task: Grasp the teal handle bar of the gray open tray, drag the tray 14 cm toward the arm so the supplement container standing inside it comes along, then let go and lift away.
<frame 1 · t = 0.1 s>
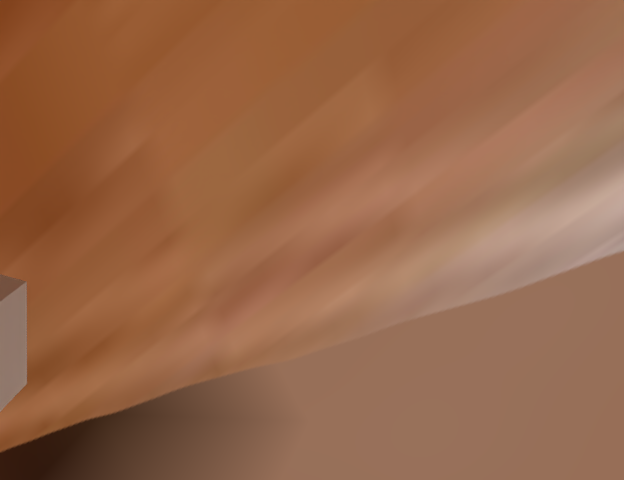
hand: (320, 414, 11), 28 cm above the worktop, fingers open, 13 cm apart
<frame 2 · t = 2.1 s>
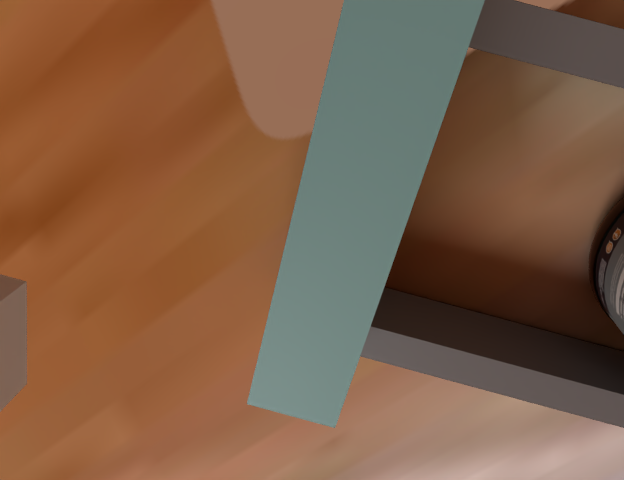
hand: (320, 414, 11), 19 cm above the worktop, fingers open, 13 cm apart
gray open tray: (619, 263, 23), point 5 cm above the worktop, slide at 0.0 cm
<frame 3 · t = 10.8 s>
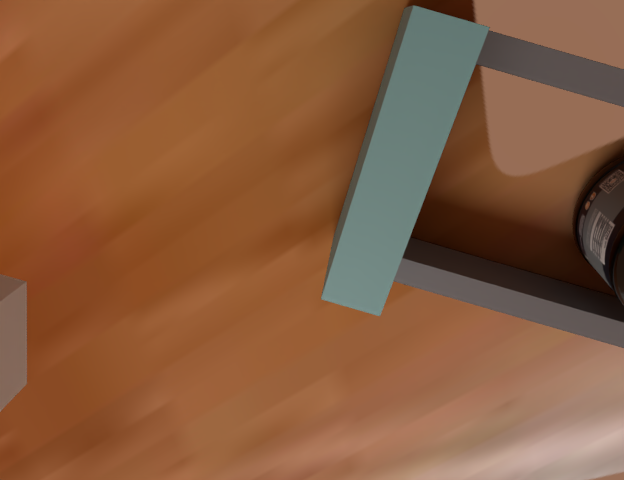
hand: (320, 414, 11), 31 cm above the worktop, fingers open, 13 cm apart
gray open tray: (572, 210, 34), point 5 cm above the worktop, slide at 14.0 cm
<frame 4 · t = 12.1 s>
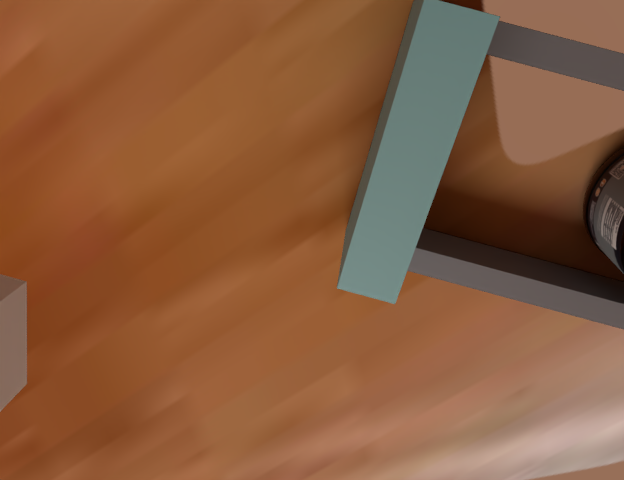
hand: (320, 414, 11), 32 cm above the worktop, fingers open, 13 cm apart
gray open tray: (583, 197, 35), point 5 cm above the worktop, slide at 14.0 cm
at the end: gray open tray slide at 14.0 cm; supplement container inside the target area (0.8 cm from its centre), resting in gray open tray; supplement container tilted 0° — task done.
